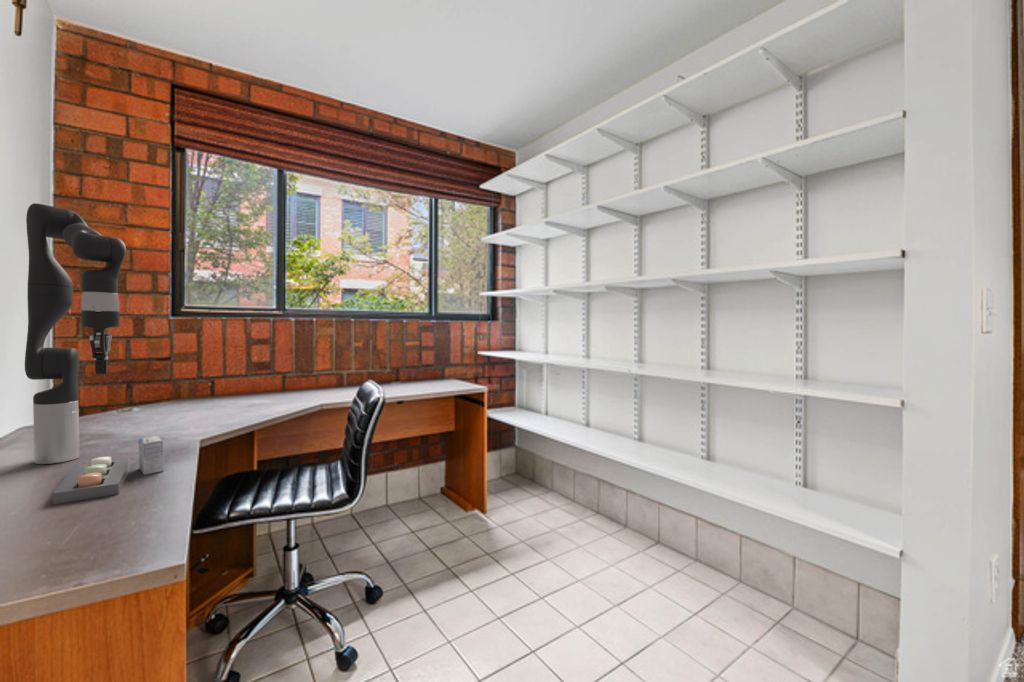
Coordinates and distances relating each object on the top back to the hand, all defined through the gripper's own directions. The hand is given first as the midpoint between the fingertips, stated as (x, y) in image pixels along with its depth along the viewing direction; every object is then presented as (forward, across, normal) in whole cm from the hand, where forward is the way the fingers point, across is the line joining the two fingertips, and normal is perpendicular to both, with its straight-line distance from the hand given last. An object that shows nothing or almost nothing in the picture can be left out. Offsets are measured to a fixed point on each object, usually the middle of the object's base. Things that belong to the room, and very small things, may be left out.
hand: (101, 373), depth 118 cm
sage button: (+26, +10, 0) cm, 27 cm away
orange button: (+26, +18, 0) cm, 31 cm away
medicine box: (+27, +4, +10) cm, 30 cm away
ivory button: (+26, +2, 0) cm, 26 cm away
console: (+27, +10, 0) cm, 29 cm away
